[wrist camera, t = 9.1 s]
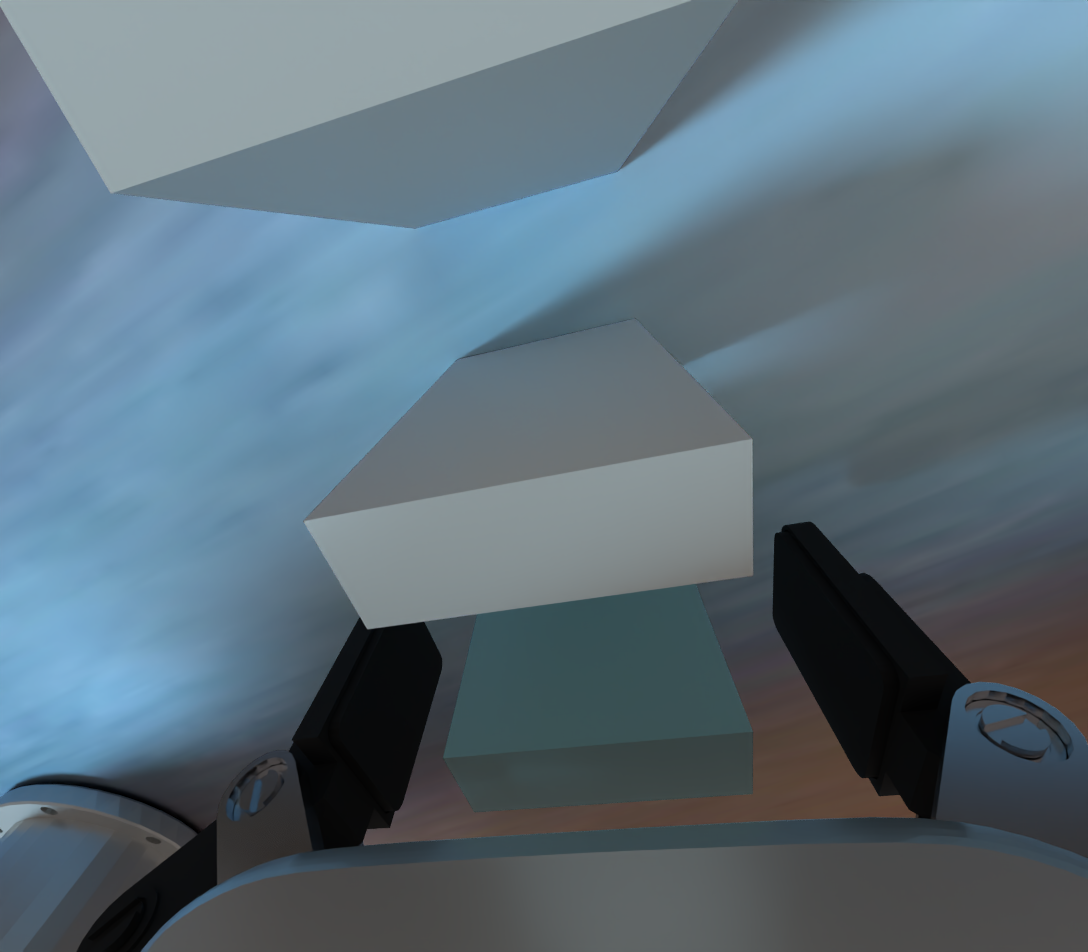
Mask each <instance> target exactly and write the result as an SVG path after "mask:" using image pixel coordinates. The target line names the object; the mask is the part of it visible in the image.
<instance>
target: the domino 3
mask: <svg viewBox="0 0 1088 952" xmlns="http://www.w3.org/2000/svg"><path fill="white" fill-rule="evenodd" d="M443 759H444V761H445V763H446V764H447V766H448V768H449V770H450V771H451V773H452V775H453V776H454V778H455V780H456V782H457V783H458V785H459V787H460V788H461V790H462V792H463V794H464V795H465V797H466V799H467V800H468V802H469V804H470V806H471V807H472V809H473V811H474V812H486V811H501V810H516V809H531V808H546V807H561V806H577V805H592V804H607V803H622V802H637V801H652V800H667V799H682V798H698V797H713V796H728V795H743V794H753V731H752V728H751V726H750V723H749V720H748V718H747V715H746V713H745V710H744V708H743V705H742V702H741V700H740V697H739V695H738V692H737V690H736V687H735V684H734V682H733V679H732V677H731V674H730V671H729V669H728V666H727V664H726V661H725V659H724V656H723V653H722V651H721V648H720V646H719V643H718V641H717V638H716V635H715V633H714V630H713V628H712V625H711V622H710V620H709V617H708V615H707V612H706V610H705V607H704V604H703V602H702V599H701V597H700V594H699V592H698V589H697V586H696V584H691V585H684V586H676V587H669V588H662V589H655V590H648V591H640V592H633V593H626V594H619V595H611V596H604V597H597V598H590V599H583V600H575V601H568V602H561V603H554V604H547V605H539V606H532V607H525V608H518V609H511V610H503V611H496V612H489V613H482V614H477V617H476V621H475V626H474V630H473V634H472V638H471V642H470V647H469V651H468V655H467V659H466V663H465V668H464V672H463V676H462V680H461V684H460V689H459V693H458V697H457V701H456V705H455V710H454V714H453V718H452V722H451V726H450V731H449V735H448V739H447V743H446V747H445V752H444V756H443Z"/></svg>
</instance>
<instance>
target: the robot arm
mask: <svg viewBox="0 0 1088 952" xmlns="http://www.w3.org/2000/svg"><path fill="white" fill-rule="evenodd" d="M773 620H774V623H775V626H776V628H777V630H778V632H779V634H780V636H781V638H782V639H783V641H784V643H785V645H786V647H787V648H788V650H789V652H790V654H791V656H792V658H793V659H794V661H795V663H796V665H797V667H798V668H799V670H800V672H801V674H802V676H803V677H804V679H805V681H806V683H807V685H808V686H809V688H810V690H811V692H812V694H813V695H814V697H815V699H816V701H817V703H818V705H819V706H820V708H821V710H822V712H823V714H824V715H825V717H826V719H827V721H828V723H829V724H830V726H831V728H832V730H833V732H834V733H835V735H836V737H837V739H838V741H839V743H840V744H841V746H842V748H843V750H844V752H845V753H846V755H847V757H848V759H849V761H850V762H851V764H852V766H853V768H854V769H855V771H856V772H857V774H858V775H859V776H860V777H861V778H869V779H870V781H871V783H872V785H873V786H874V788H875V790H876V792H877V793H878V795H879V796H889V795H900V796H901V797H902V799H903V801H904V802H905V804H906V806H907V807H908V809H909V810H911V811H912V812H914V813H916V817H915V818H879V817H868V818H839V819H809V820H780V821H762V822H743V823H724V824H705V825H686V826H668V827H649V828H632V829H614V830H597V831H580V832H563V833H546V834H530V835H513V836H497V837H481V838H466V839H450V840H435V841H419V842H404V843H391V844H379V845H367V846H364V844H363V839H364V836H365V833H366V830H367V829H376V828H390V826H391V822H392V819H393V816H394V812H395V811H397V810H399V809H400V807H401V805H402V803H403V800H404V797H405V793H406V790H407V787H408V783H409V780H410V776H411V773H412V769H413V766H414V763H415V759H416V756H417V752H418V749H419V745H420V742H421V739H422V735H423V732H424V728H425V725H426V721H427V718H428V715H429V711H430V708H431V704H432V701H433V697H434V694H435V691H436V687H437V684H438V680H439V677H440V674H441V670H442V658H441V655H440V653H439V651H438V649H437V647H436V645H435V643H434V641H433V639H432V637H431V635H430V633H429V631H428V629H427V627H426V625H425V623H424V622H417V623H410V624H402V625H395V626H388V627H381V628H374V629H367V628H366V626H365V625H364V623H363V621H362V620H361V618H359V619H358V621H357V623H356V625H355V627H354V628H353V630H352V632H351V634H350V636H349V637H348V639H347V641H346V643H345V645H344V646H343V648H342V650H341V652H340V654H339V655H338V657H337V659H336V661H335V663H334V665H333V666H332V668H331V670H330V672H329V674H328V675H327V677H326V679H325V681H324V683H323V684H322V686H321V688H320V690H319V692H318V693H317V695H316V697H315V699H314V701H313V702H312V704H311V706H310V708H309V710H308V711H307V713H306V715H305V717H304V719H303V720H302V722H301V724H300V726H299V728H298V729H297V731H296V733H295V735H294V737H293V738H292V740H293V742H294V743H293V745H292V747H291V748H290V750H289V752H288V751H286V750H275V751H272V752H269V753H266V754H264V755H263V756H261V757H259V758H257V759H256V760H254V761H253V762H252V763H250V764H249V765H248V766H247V767H246V768H244V769H243V770H242V771H241V772H240V773H239V774H238V776H237V777H236V778H235V779H234V780H233V781H232V783H231V784H230V785H229V787H228V788H227V790H226V791H225V793H224V795H223V797H222V799H221V802H220V804H219V807H218V813H217V820H215V821H214V822H213V823H212V824H210V825H209V826H208V827H206V828H205V829H204V830H203V831H201V832H200V833H199V834H197V833H196V832H195V831H194V830H193V829H191V828H190V827H188V826H187V825H185V824H184V823H182V822H181V821H179V820H178V819H176V818H174V817H172V816H170V815H168V814H167V813H165V812H163V811H161V810H158V809H156V808H154V807H151V806H149V805H147V804H144V803H142V802H139V801H136V800H133V799H130V798H127V797H124V796H121V795H117V794H114V793H110V792H106V791H102V790H98V789H92V788H87V787H81V786H74V785H63V784H35V785H29V786H22V787H19V788H16V789H14V790H11V791H8V792H7V793H5V794H4V795H3V796H2V797H0V952H1088V745H1087V742H1086V739H1085V737H1084V736H1083V735H1082V734H1081V732H1080V731H1079V730H1078V728H1077V727H1076V726H1075V725H1074V723H1073V722H1071V721H1070V720H1069V719H1068V718H1067V717H1066V716H1064V715H1063V714H1062V713H1061V712H1060V711H1059V710H1057V709H1056V708H1054V707H1053V706H1051V705H1049V704H1048V703H1046V702H1044V701H1043V700H1041V699H1039V698H1038V697H1036V696H1033V695H1031V694H1029V693H1026V692H1024V691H1022V690H1019V689H1017V688H1013V687H1010V686H1006V685H1002V684H998V683H987V682H977V683H970V682H969V681H968V680H967V678H966V677H965V676H964V675H963V674H962V673H961V672H960V671H959V670H958V669H957V668H956V667H955V666H954V664H953V663H952V662H951V661H950V660H949V659H948V658H947V657H946V656H945V655H944V654H943V653H942V652H941V650H940V649H939V648H938V647H937V646H936V645H935V644H934V643H933V642H932V641H931V640H930V639H929V638H928V636H927V635H926V634H925V633H924V632H923V631H922V630H921V629H920V628H919V627H918V626H917V625H916V624H915V622H914V621H913V620H912V619H911V618H910V617H909V616H908V615H907V614H906V613H905V612H904V611H903V610H902V608H901V607H900V606H899V605H898V604H897V603H896V602H895V601H894V600H893V599H892V598H891V597H890V596H889V594H888V593H887V592H886V591H885V590H884V589H883V588H882V587H881V586H880V585H879V584H878V583H877V582H876V581H875V580H874V579H873V578H872V577H871V576H870V575H867V574H865V573H861V574H858V573H857V571H856V570H855V569H854V568H853V567H852V566H851V565H850V564H849V562H848V561H847V560H846V559H845V558H844V557H843V556H842V555H841V554H840V552H839V551H838V550H837V549H836V548H835V547H834V546H833V545H832V544H831V542H830V541H829V540H828V539H827V538H826V537H825V536H824V535H823V533H822V532H821V531H820V530H819V529H818V528H817V527H816V526H815V525H814V524H813V523H812V522H803V523H797V524H790V525H785V526H783V527H782V531H781V532H779V533H776V534H775V538H774V576H773Z"/></svg>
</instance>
